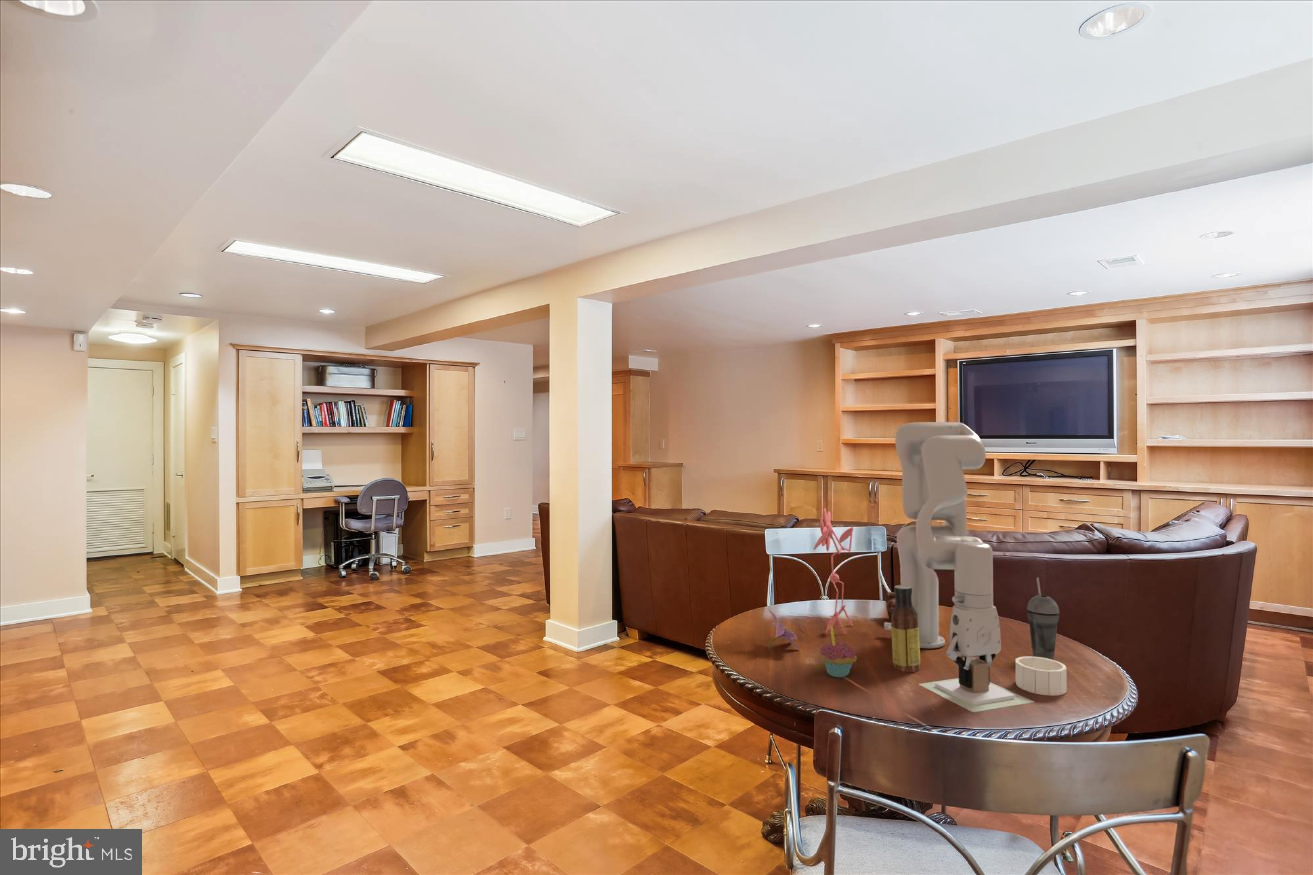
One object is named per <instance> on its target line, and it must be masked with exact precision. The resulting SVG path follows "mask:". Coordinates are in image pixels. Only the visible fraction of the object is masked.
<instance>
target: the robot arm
mask: <svg viewBox="0 0 1313 875" xmlns="http://www.w3.org/2000/svg"><path fill="white" fill-rule="evenodd" d="M894 442H895V443H894V444H895V449H896V452H897V456H898V460H899V462H900V465H901V472H902V474H901V475H902V477H901V478H902V479H901V483H902V484H901V485H902V486H901V491H902V493H901V494H902V501H901V502H902V510H903V514H904V516H905V517H906V518H907V519H910V520H912V521H914V520H915V521H916V523H915V524H914V525H913V524H911V525H907V526H904V527H902V528H901V529H899V531H898V532H897V534H896V545H897V546H896V547H897V551H898V556H899V570H900V585H906V586H911V587H912V606H913V607H914V609H915V611H916V613H917V615H918V626H919V644H920V649H938V648H941V647H944V646H945V645H946V639H945V638H944V637H943V636H941V635H939V634H940V629H939V628H940V626H939V624H940V622H939V619H940V618H939V612H940V611H939V609H940V608H939V577H938V575H937V572H936V571H935V570H950V571H951V570H954V576H953V577H954V583H953V584H954V588H953V589H954V596H952V598H951V601H952V602H953V603H954V605H953V606H952V609H951V615H950V622H949V646H948V648H947V650H946V652H945V655H946V656H947V657H948V658H950V659H951V660H952V661H953V662H954V663H955V665H956V666H957V667H958V678H959V684H961V685H963V686H965V687H967V688H972V670H971V669H969V668H970V662H971V658H972V657H977V658H978V659H980V660H982V661H985V662H987V663H989V685H990V680H991V678H990V676H991V674H990V673H991V672H990V670H991V669H990V667H991V666H992V665H993V661H994V659H995V658H996V655H997V654H999V653H1000V652H1001V651H1002V646H1001V645H1002V644H1001V643H1002V640H1001V627H1000V618H999V613H998V610H997V607H996V606H995V605H994V562H993V561H994V559H993V558H994V553H993V547H992V546H991V545H990V544H988V543H985V542H983V540H982V539H980V538H979V537H976V536H967V522H968V521H967V502H966V498H967V496H968V486H967V482H966V478H965V474H964V470H977V469H981V468H982V467H983V466H984V464H985V462H986V449H985V446H984V442H983V440H982V439H981V438H980V436H979V435H978V434H977V433H975V431H973V430H972V429H971V428H970V427H969V426H967V425H966V424H964V423H963V422H958V421H957V422H956V421H955V422H954V421H941V422H940V421H936V422H935V421H934V422H933V421H924V422H923V421H921V422H919V421H918V422H908V423H907V422H906V423H904V424H902V425H900V426H899V427H898V428H897V430H896V432H895V437H894ZM932 521H944V525H943V524H942V525H940V524H939V525H936V524H931V522H932ZM883 627H884V628H883V629H884V630H887V632H891V622H887V621H885V622H884V623H883ZM964 658H965V659H964ZM963 659H964V660H963Z"/></svg>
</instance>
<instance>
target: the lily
mask: <svg viewBox="0 0 1313 875" xmlns="http://www.w3.org/2000/svg"><path fill="white" fill-rule="evenodd" d="M767 610H768V611H769V613H770V614H771V615H772V617H773V619H774V621H775V622H772V624H771V625H772V626H774V627H775V636H774V638H773V640H772V641H771V643H770V644H769V646H768V649H769V648H770V649H771V647H772V645H773V643H774V641H775V640H776V639H777V638H782V639H785V640H788V642H789V643H790V644H792V645H793V646H795V647H796V649H797V650H798V651H800V649H799V647H798V646H797V644H796V642H795V641H794V640H798V637H797V635H796V634H795V633H794V632H793V631H792V630H791V629H790V628H789V626H788V627H787V626H784V624H783V623H782V622H781V620H780V619H779V618H778V617H777V616H776V615H775V614H774V612H773V611H772V610H770V609H769V608H767Z"/></svg>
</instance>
